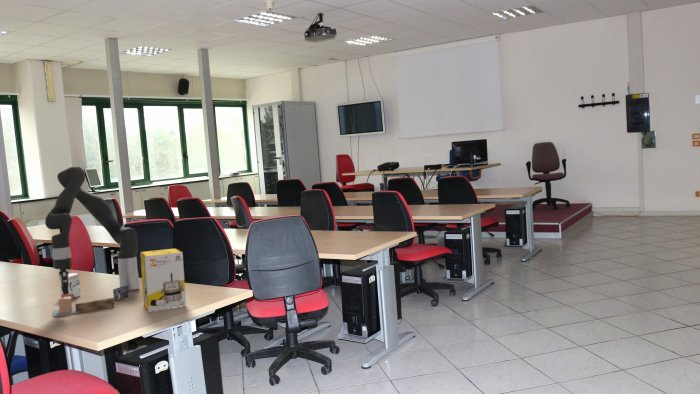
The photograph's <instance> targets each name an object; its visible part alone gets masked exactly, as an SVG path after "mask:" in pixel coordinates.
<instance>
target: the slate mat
mask: <svg viewBox="0 0 700 394" xmlns="http://www.w3.org/2000/svg"><path fill="white" fill-rule="evenodd" d="M52 314H53V318H59V317H65V316H71V315H77V314H80V312H79V311H77V312H76V306H75V307H73V306H72V312H66V313H60V311H59V309H53V310H52Z"/></svg>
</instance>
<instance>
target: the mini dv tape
mask: <svg viewBox="0 0 700 394" xmlns="http://www.w3.org/2000/svg"><path fill="white" fill-rule="evenodd" d="M112 293H113V298H114V302H120V301H123V300H126V299H128V298H129V291H128V286H123V287H120V286H119V287H116V288H114V289H112Z"/></svg>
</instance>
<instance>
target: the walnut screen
mask: <svg viewBox="0 0 700 394" xmlns="http://www.w3.org/2000/svg"><path fill="white" fill-rule="evenodd" d="M75 307H76V312H77V311H79V313H84V312H90V311H98V310H103V309H105V310H106V309H110V308H115V301H114V297H110V298H104V299H96V300H95V299H94V300H88V301H83V302H76V303H75Z"/></svg>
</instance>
